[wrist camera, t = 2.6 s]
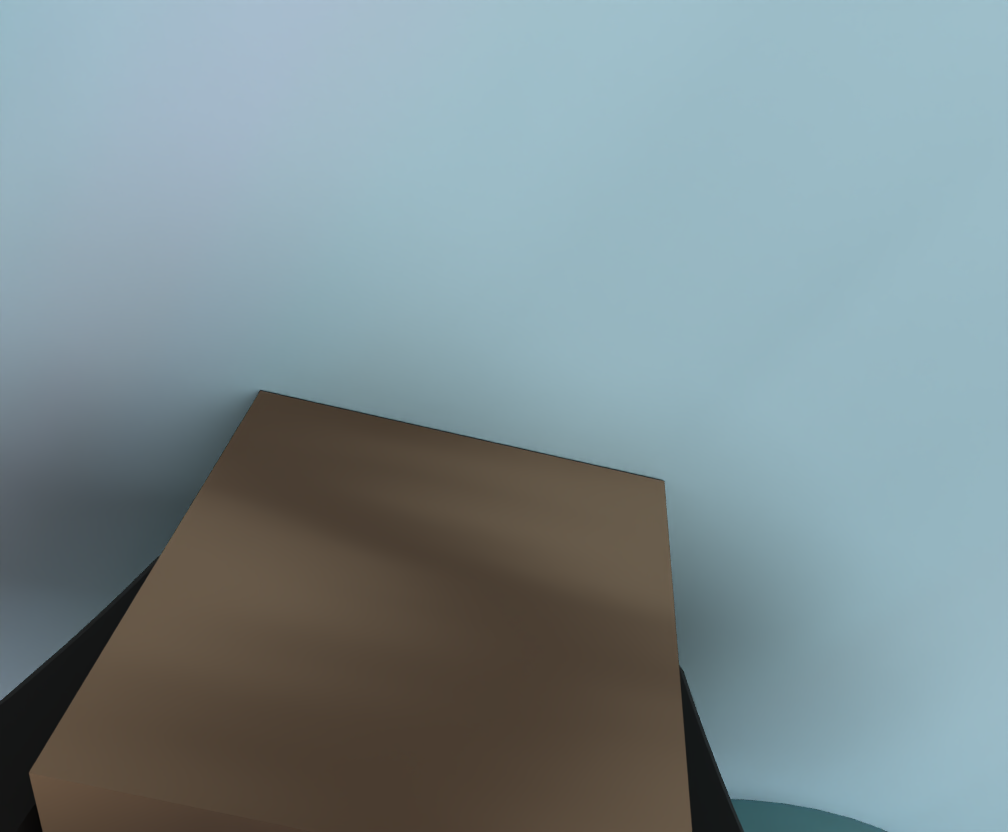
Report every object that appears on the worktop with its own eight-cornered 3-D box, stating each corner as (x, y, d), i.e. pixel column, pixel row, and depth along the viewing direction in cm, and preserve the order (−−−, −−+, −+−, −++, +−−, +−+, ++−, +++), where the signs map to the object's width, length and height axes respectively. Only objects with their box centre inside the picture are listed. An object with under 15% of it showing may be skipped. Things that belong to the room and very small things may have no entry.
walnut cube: (251, 651, 13) (89, 1027, 9) (260, 390, 10) (29, 773, 6) (565, 719, 13) (545, 1118, 9) (664, 480, 10) (698, 912, 6)
